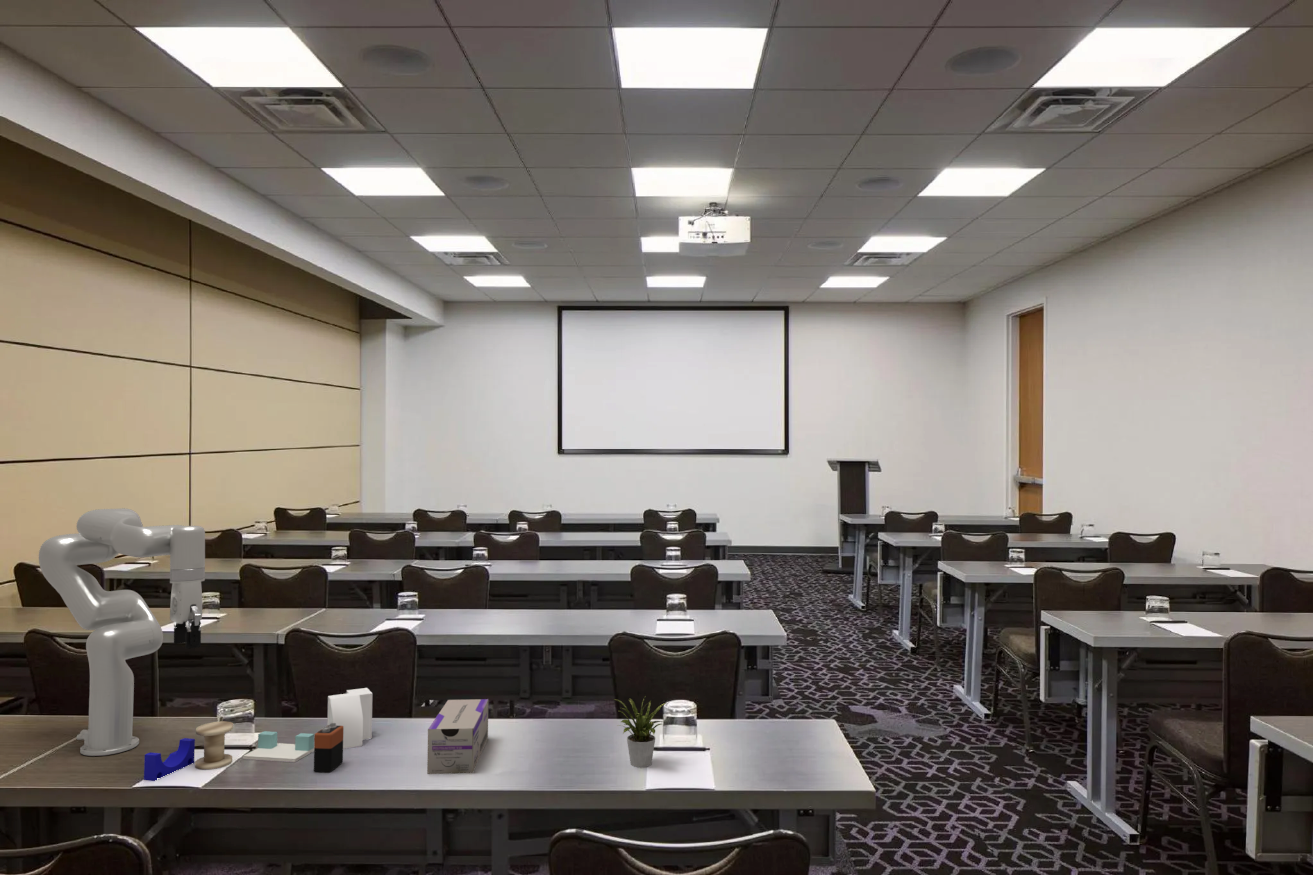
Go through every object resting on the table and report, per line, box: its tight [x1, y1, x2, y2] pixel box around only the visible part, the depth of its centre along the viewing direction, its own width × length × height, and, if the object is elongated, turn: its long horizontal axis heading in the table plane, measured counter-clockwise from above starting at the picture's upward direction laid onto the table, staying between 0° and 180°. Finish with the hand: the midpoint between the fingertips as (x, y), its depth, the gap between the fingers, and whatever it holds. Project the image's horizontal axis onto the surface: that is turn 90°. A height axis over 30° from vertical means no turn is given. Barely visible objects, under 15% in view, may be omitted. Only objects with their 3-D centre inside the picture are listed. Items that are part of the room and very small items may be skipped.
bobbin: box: [194, 721, 234, 771], centre depth 198 cm, size 8×8×9 cm
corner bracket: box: [326, 687, 373, 750], centre depth 215 cm, size 11×11×12 cm
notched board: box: [242, 730, 315, 763], centre depth 205 cm, size 14×10×4 cm
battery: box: [313, 723, 344, 773], centre depth 196 cm, size 4×7×10 cm, turn 176°
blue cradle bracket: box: [143, 737, 196, 782], centre depth 193 cm, size 12×4×6 cm, turn 169°
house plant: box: [614, 695, 668, 768], centre depth 199 cm, size 14×14×16 cm
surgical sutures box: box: [426, 698, 489, 775], centre depth 205 cm, size 25×11×11 cm, turn 4°
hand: (187, 645), depth 200 cm, fingers open, 9 cm apart
